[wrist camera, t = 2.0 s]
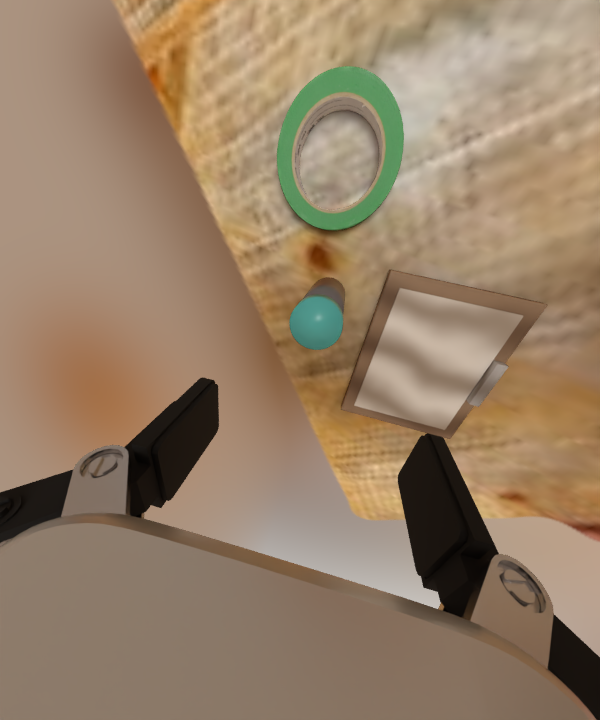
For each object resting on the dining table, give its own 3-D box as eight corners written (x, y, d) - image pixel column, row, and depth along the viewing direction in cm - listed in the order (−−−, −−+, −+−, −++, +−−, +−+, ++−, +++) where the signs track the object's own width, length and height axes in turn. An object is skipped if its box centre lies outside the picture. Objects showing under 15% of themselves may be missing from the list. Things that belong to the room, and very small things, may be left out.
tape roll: (344, 252, 26) (344, 254, 24) (264, 186, 25) (255, 180, 22) (425, 142, 21) (435, 131, 19) (329, 49, 19) (326, 24, 17)
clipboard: (389, 269, 26) (392, 271, 24) (540, 302, 24) (555, 307, 23) (341, 405, 36) (341, 414, 34) (447, 434, 34) (452, 444, 33)
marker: (315, 271, 27) (294, 293, 17) (349, 279, 27) (349, 305, 17) (308, 305, 29) (285, 342, 19) (340, 312, 29) (334, 355, 19)
